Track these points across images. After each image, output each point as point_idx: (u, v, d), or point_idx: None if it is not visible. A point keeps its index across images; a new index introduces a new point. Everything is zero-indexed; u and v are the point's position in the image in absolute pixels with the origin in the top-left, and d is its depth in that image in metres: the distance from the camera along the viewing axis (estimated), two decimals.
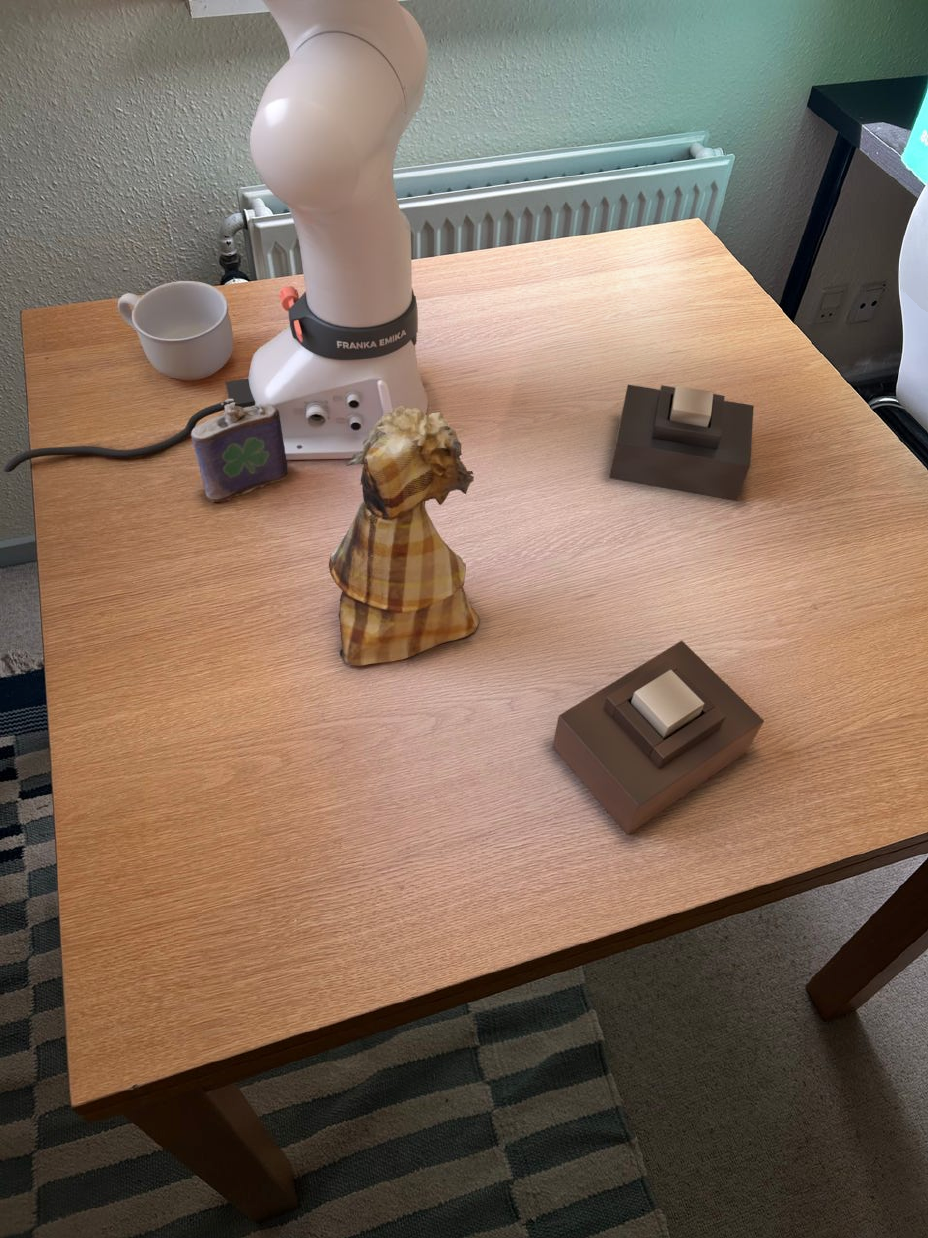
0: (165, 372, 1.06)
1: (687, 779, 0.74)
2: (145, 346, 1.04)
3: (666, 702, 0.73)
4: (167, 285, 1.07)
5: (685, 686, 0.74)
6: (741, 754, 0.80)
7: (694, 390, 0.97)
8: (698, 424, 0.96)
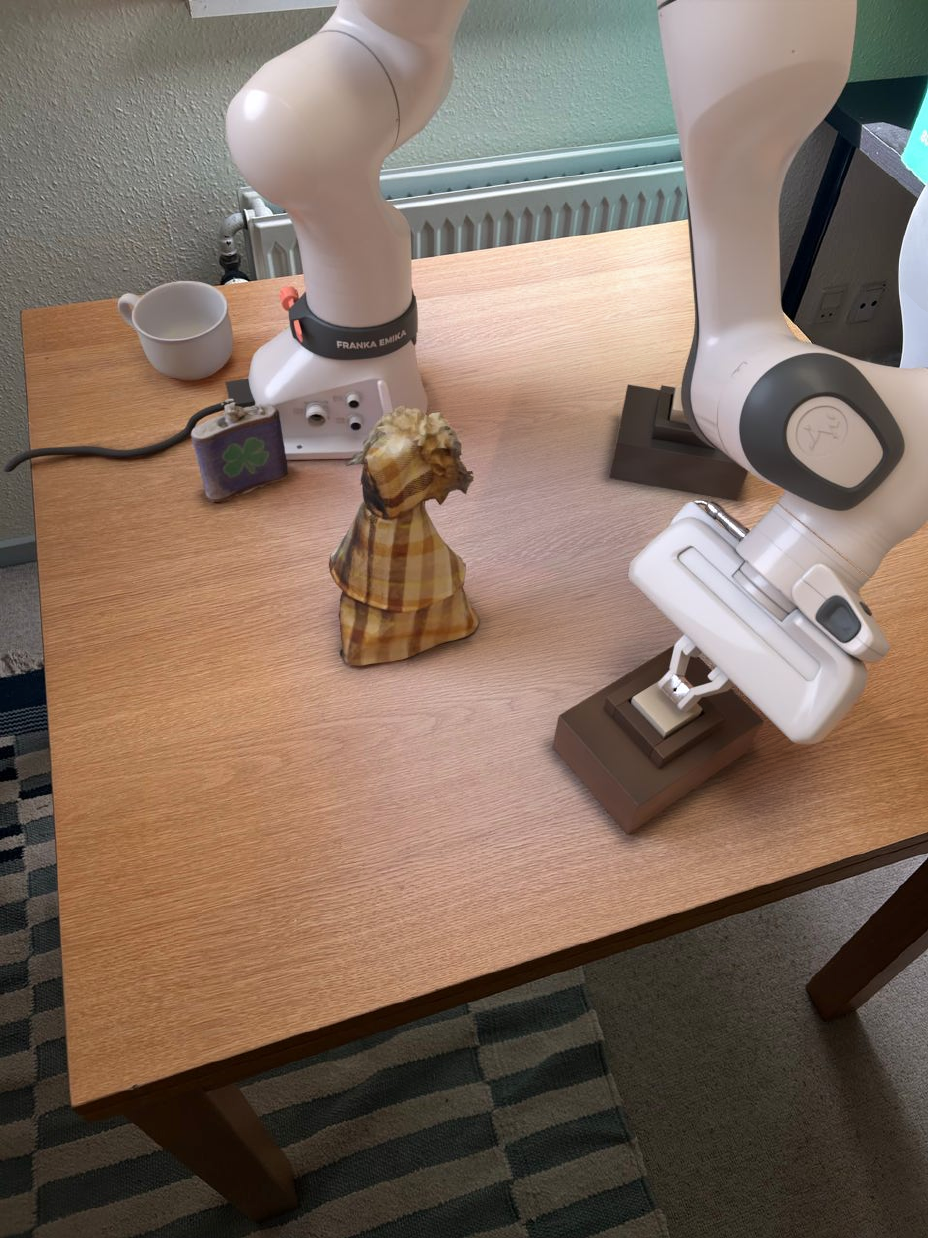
0: (165, 372, 1.06)
1: (687, 779, 0.74)
2: (145, 346, 1.04)
3: (664, 707, 0.74)
4: (167, 285, 1.07)
5: None
6: (741, 754, 0.80)
7: None
8: None
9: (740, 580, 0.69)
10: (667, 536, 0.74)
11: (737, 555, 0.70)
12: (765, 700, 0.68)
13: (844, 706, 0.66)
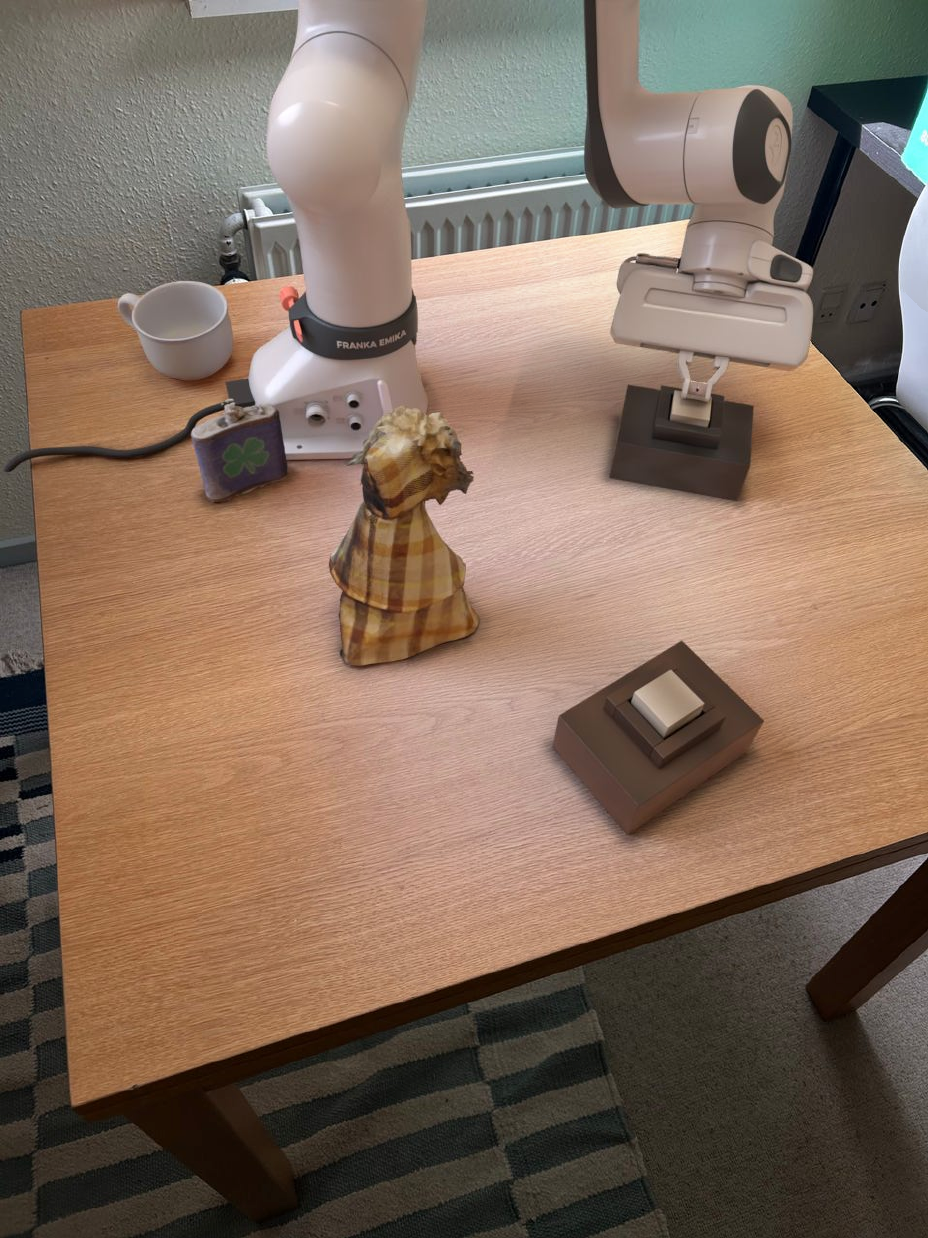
0: (165, 372, 1.06)
1: (687, 779, 0.74)
2: (145, 346, 1.04)
3: (666, 702, 0.73)
4: (167, 285, 1.07)
5: (685, 686, 0.74)
6: (741, 754, 0.80)
7: None
8: None
9: (705, 286, 0.92)
10: (628, 291, 0.94)
11: (686, 274, 0.94)
12: (765, 352, 0.93)
13: None
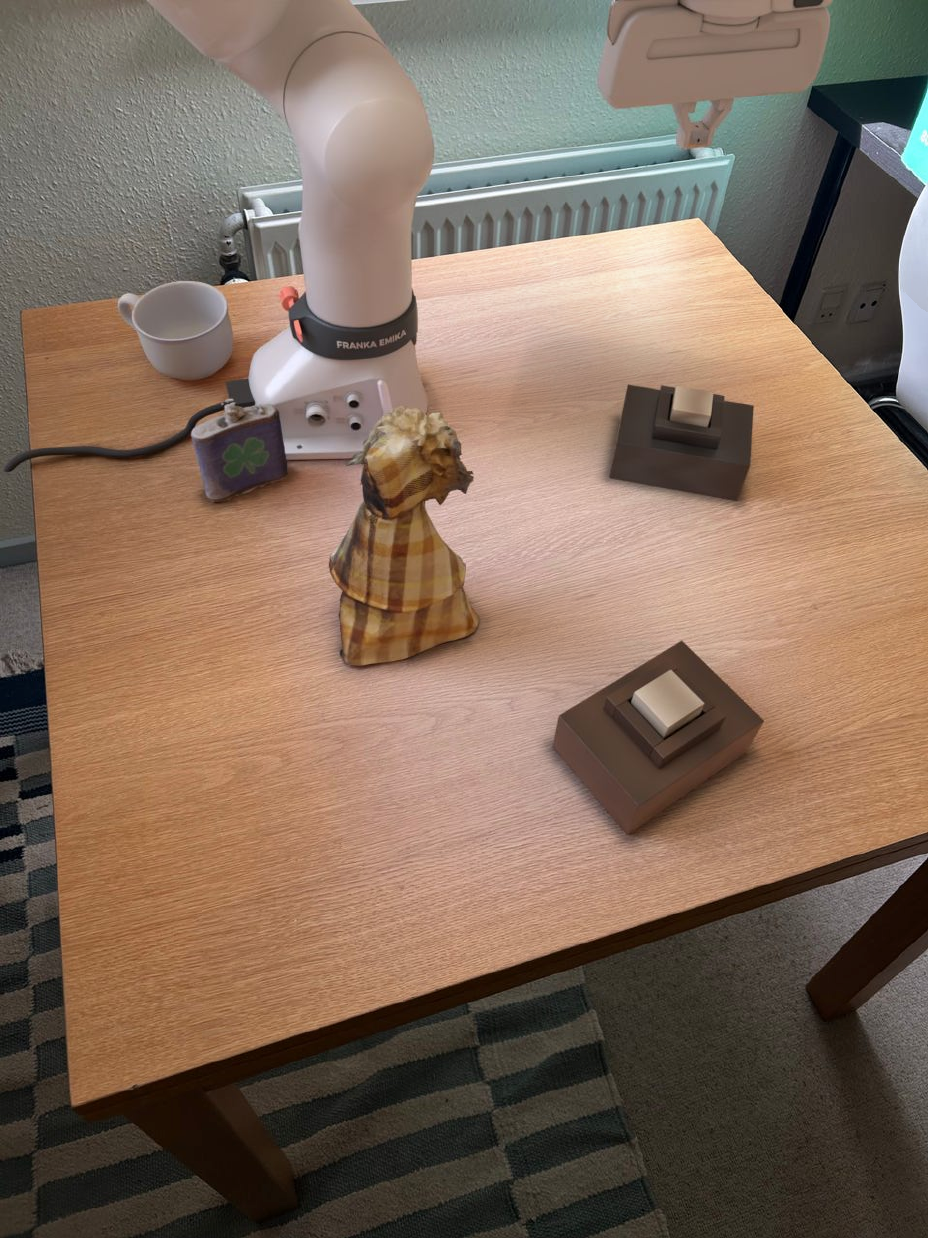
0: (165, 372, 1.06)
1: (687, 779, 0.74)
2: (145, 346, 1.04)
3: (666, 702, 0.73)
4: (167, 285, 1.07)
5: (685, 686, 0.74)
6: (741, 754, 0.80)
7: (694, 390, 0.97)
8: (698, 424, 0.96)
9: (718, 31, 0.76)
10: (628, 51, 0.77)
11: (694, 12, 0.76)
12: (774, 86, 0.83)
13: None
